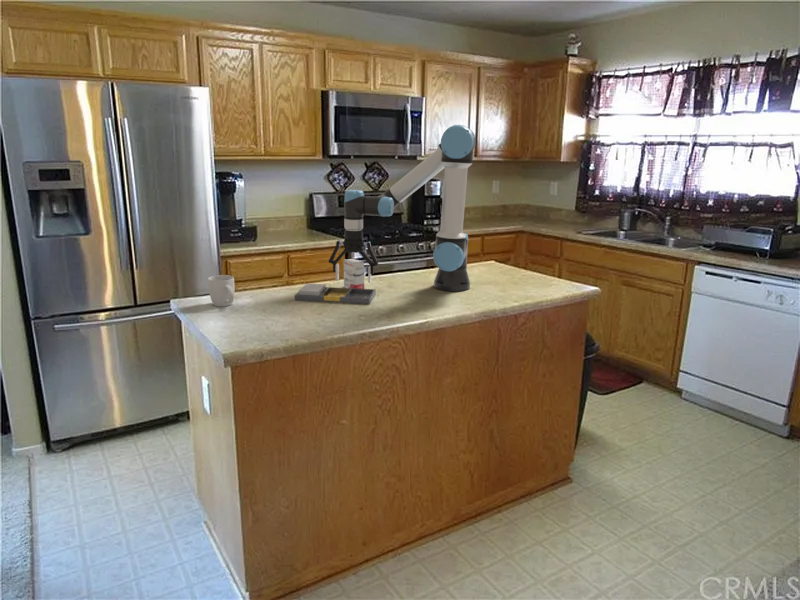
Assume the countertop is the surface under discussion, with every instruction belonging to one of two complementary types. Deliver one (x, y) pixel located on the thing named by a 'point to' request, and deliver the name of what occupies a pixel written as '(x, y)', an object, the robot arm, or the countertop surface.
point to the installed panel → (312, 289)
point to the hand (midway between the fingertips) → (353, 280)
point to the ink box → (353, 274)
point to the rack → (341, 296)
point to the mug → (221, 290)
